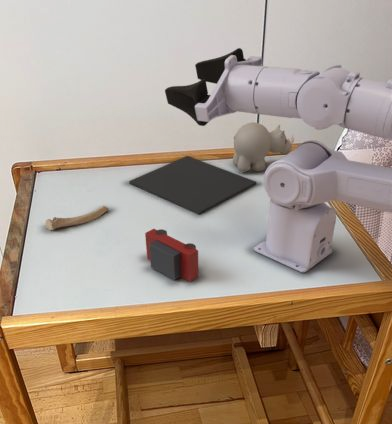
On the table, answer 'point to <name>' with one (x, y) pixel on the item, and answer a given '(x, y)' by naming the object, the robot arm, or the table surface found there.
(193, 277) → the toy car
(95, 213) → the bone
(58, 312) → the table surface
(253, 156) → the toy rhinoceros
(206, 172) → the mat
